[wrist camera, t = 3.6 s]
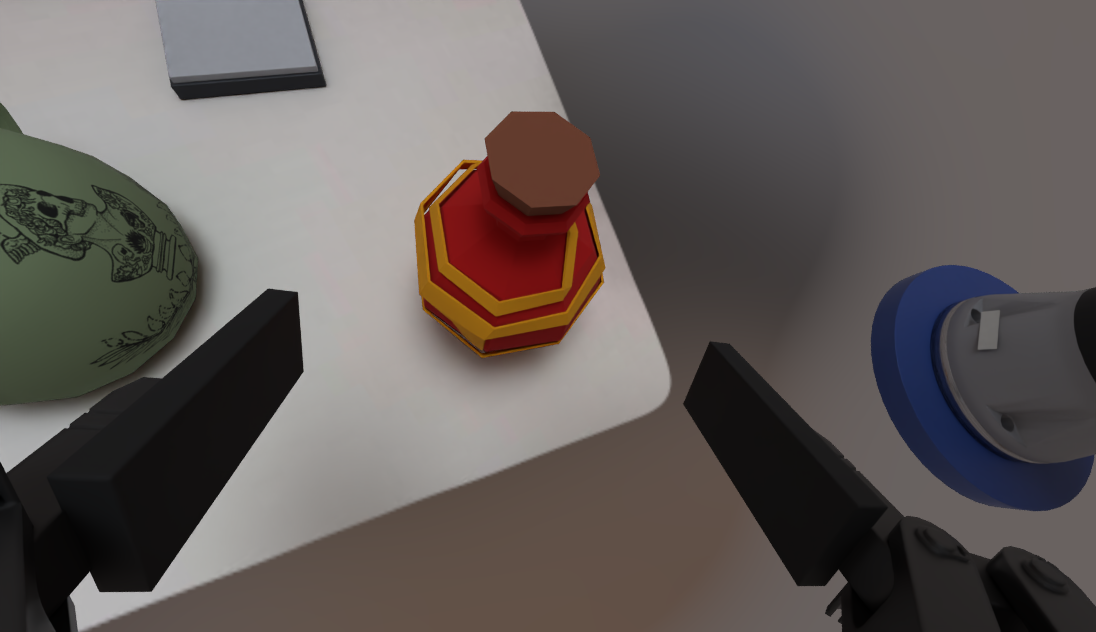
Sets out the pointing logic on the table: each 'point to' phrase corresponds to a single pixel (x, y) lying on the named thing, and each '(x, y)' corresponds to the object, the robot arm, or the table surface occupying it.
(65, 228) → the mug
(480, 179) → the potion bottle
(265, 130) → the table surface
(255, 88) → the scale
